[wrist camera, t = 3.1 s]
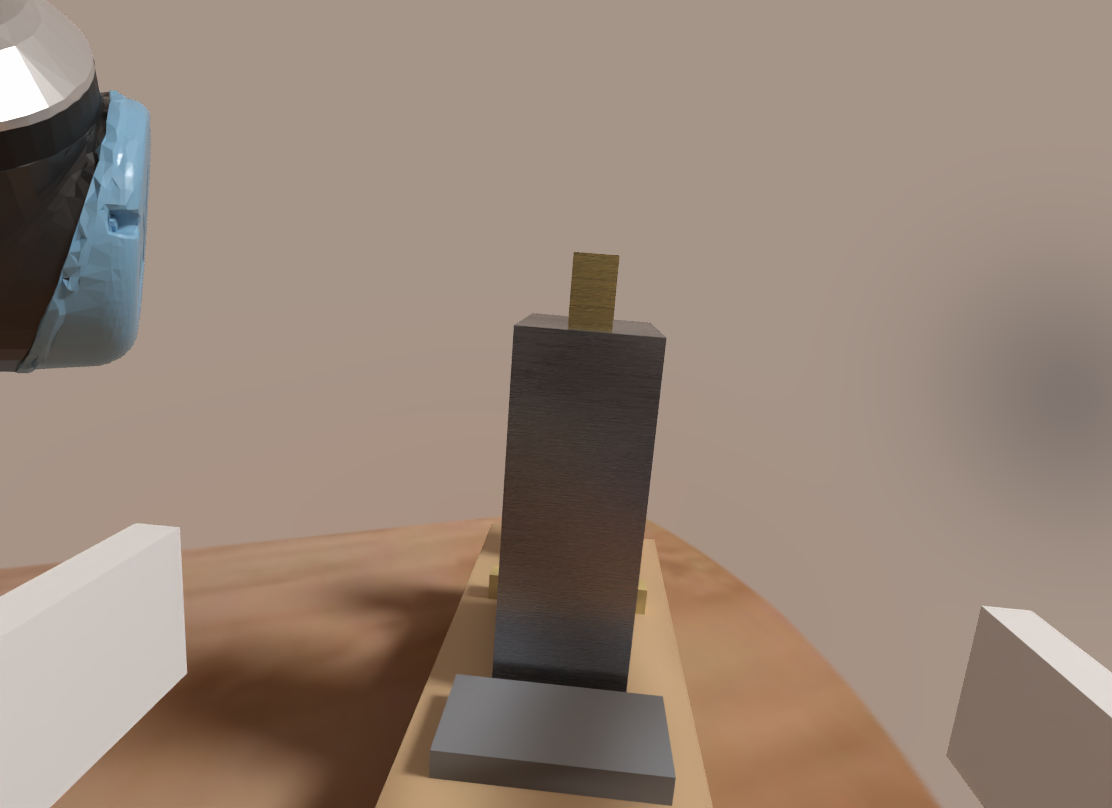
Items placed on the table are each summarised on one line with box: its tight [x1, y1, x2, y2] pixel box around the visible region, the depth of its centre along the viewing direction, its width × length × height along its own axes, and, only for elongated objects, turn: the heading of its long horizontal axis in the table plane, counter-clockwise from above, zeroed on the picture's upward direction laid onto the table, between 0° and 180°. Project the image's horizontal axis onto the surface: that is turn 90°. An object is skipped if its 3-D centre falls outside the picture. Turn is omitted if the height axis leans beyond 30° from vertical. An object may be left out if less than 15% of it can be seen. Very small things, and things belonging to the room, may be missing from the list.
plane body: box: [375, 524, 713, 808], centre depth 22 cm, size 8×18×11 cm, turn 177°
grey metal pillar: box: [492, 252, 666, 692], centre depth 20 cm, size 4×5×13 cm
